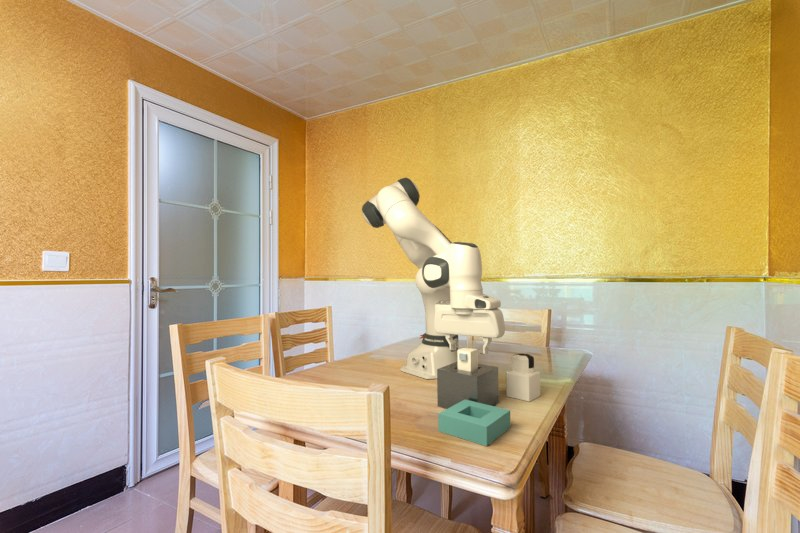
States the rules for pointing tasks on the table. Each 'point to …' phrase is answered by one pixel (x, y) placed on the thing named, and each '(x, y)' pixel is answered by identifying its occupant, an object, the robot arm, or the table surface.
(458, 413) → the block
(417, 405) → the table surface
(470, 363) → the plug
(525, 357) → the medicine bottle
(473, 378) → the dark grey square frame
